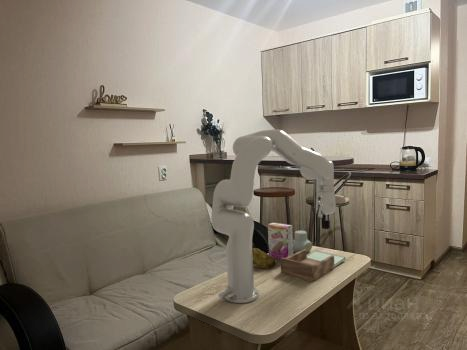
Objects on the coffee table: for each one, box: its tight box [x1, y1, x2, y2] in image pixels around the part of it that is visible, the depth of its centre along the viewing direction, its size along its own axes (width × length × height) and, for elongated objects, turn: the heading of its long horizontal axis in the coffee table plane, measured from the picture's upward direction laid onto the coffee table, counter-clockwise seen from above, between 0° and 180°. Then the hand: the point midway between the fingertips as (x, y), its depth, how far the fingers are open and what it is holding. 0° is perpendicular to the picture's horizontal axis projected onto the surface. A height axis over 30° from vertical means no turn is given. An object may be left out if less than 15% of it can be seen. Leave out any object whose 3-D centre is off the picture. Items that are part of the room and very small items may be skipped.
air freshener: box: [293, 230, 313, 253], centre depth 171 cm, size 11×8×10 cm
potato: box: [252, 247, 277, 269], centre depth 154 cm, size 8×13×8 cm, turn 49°
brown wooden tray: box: [279, 249, 335, 283], centre depth 147 cm, size 18×15×6 cm
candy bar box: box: [267, 222, 294, 261], centre depth 162 cm, size 11×5×16 cm, turn 50°
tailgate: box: [307, 250, 346, 268], centre depth 157 cm, size 1×15×10 cm
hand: (325, 228), depth 156 cm, fingers closed
